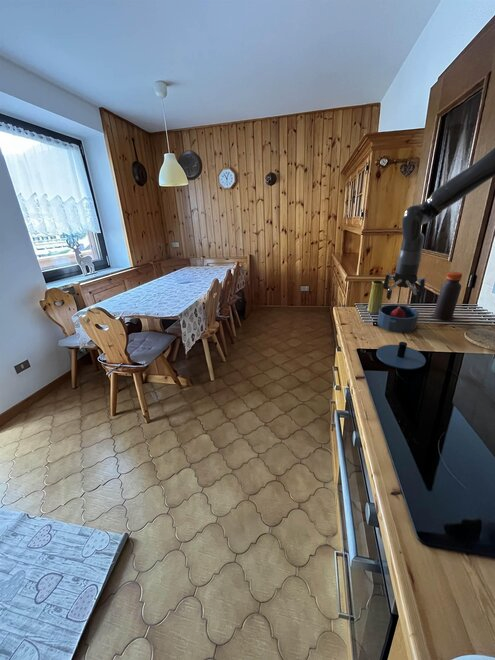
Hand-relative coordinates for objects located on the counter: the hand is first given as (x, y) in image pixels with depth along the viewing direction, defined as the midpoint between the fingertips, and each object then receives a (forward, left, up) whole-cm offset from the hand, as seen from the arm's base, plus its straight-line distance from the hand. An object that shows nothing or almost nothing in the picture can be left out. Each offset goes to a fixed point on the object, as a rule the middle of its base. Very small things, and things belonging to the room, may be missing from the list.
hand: (400, 301), depth 115 cm
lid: (-7, +26, -11) cm, 29 cm away
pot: (0, 0, -11) cm, 11 cm away
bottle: (-15, -17, -11) cm, 25 cm away
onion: (0, 0, -11) cm, 11 cm away
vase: (+12, -11, -11) cm, 20 cm away
